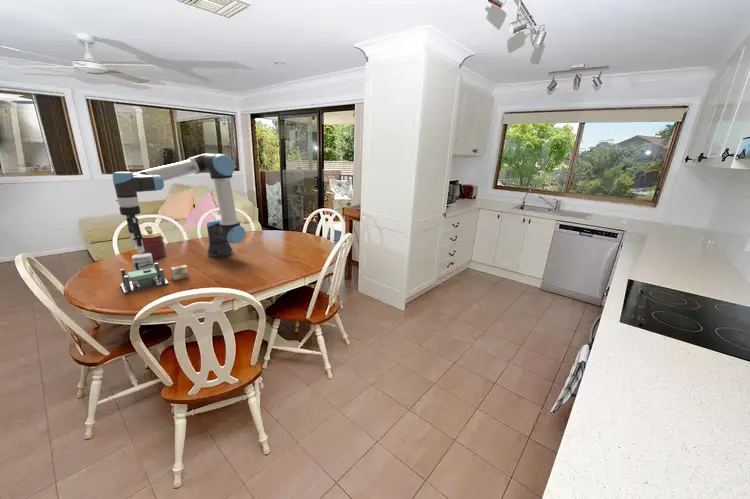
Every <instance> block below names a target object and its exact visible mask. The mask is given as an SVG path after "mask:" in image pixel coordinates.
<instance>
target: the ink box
mask: <svg viewBox="0 0 750 499" xmlns="http://www.w3.org/2000/svg"><path fill="white" fill-rule="evenodd" d="M153 260H154V259H152V254H151V253H146V254H141V253H137V254H133V255H132V256H131V261H132V266H133V271H138V270H144V269H149V268H154V269H155V266H154V261H153Z"/></svg>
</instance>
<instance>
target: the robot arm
mask: <svg viewBox="0 0 750 499" xmlns="http://www.w3.org/2000/svg"><path fill="white" fill-rule="evenodd" d="M235 170H236V165H235V162H234V161H233V158H231V157H230V156H229V155H227V154H223V153H213V152H212V153H211V152H207V153H201V154H198V155H194V156H190V157H188V158H187V159H186V160H182V161H179V162H178V161H177V162H175V163H170V164H166V165H161V166H157V167H152V168H149V169H144V170H141V171H136V172H131V171H116V172H113V173H112V182H113V186H114V189H115V190H114V191H115V194H116V198H117V199H115V201H116V202H117V203H118V206H119V212H120V213H119V214H120V215H121V216H125V217H126V218H125V220H126V222H127V230H128V232H129V237H130V242H131V246H132V247H136V252H137V254H141V253H142V252H145V251H144V246H143V242H142V238H143V237H142V235H141V234H142V231H141V227H140V223H139V218H138V217H137V216H136V215H140V214H141V207H140V202H139V197H138V193H142V192H157V191H162V190H164V188H165V183H164V182H167V181H171V180H174V179H178V178H180V177H185V176H188V175H192V174H194V175H199V174H209V176H210V179H211V180H212V181H213V182H214V186H215V191H216V196H217V197H216V198H217V203H218V207H219V213H220V214H219V215H220V218H219V219H212V220H208V221H207V223H206V229H207V236H208V247H207V251H206V252H207V253H206V254H207V256H208V257H210V258H223V257H228V256H231V255H232V254H233V252H234V251H233V247H232V245H231V244H235V245H237V244H240V243H241V242H242V241H243V240H244V239H245V236H246V229H245V228H244V227H243V226H242V225H241V222H240V221H241V220H239V219H238V218H237V214H236V206H235V201H234V195H233V190H232V189H233V188H232V183H231V182H232V181H231V180H232V178H233V174H234V172H235Z"/></svg>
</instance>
